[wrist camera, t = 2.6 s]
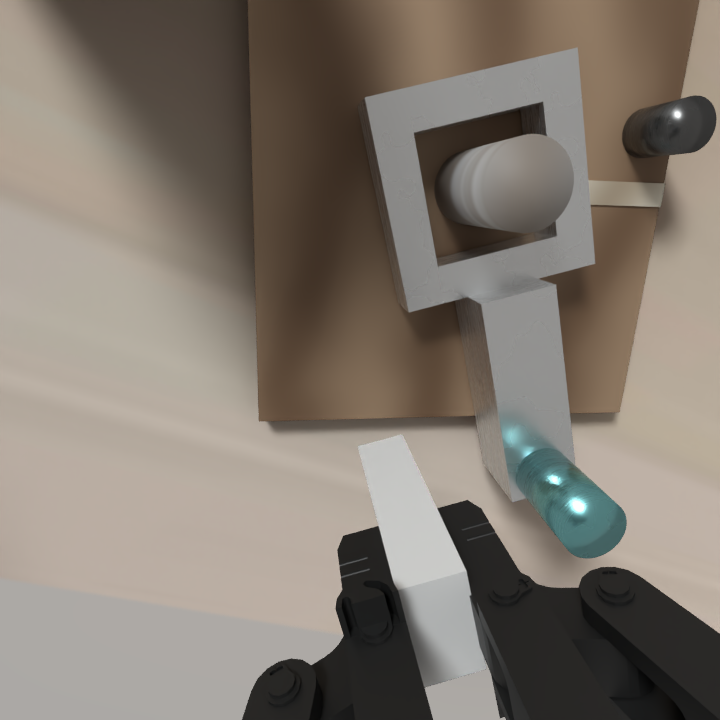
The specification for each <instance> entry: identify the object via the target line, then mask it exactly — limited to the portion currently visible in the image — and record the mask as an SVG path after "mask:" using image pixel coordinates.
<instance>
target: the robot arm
mask: <svg viewBox="0 0 720 720" xmlns="http://www.w3.org/2000/svg"><path fill="white" fill-rule="evenodd" d="M358 449H359V453H360V457H361V461H362V465H363V469H364V472H365V476H366V480H367V484H368V488H369V492H370V495H371V499H372V503H373V507H374V511H375V515H376V518H377V522H378V526H377V527H374V528H370V529H366V530H363V531H359V532H356V533H352V534H348V535H345V536H343V538H342V540H341V543H340V545H339V548H338V558H339V565H340V574H341V582H342V592H341V593H340V595H339V596H338V598H337V602H336V612H337V615H338V618H339V621H340V625H341V628H342V631H343V634H344V637H343V638H342V640H341V642H340V643H339V645H338V646H337V647H336V648H335V649H334V650H333V651H332V652H331V653H330V654H328V655H327V656H326V657H324V658H323V659H321V660H319V661H318V662H316V663H315V664H313V665H310V664H308V663H306V662H305V661H303V660H298V659H288V660H284V661H280V662H278V663H276V664H274V665H273V666H271V667H270V668H268V669H267V670H266V671H265V672H264V673H263V674H262V675H261V676H260V677H259V678H258V679H257V681H256V683H255V685H254V687H253V689H252V691H251V694H250V697H249V700H248V703H247V706H246V710H245V713H244V715H243V719H242V720H433V718H432V714H431V710H430V707H429V703H428V700H427V696H426V692H425V689H424V688H425V687H427V686H431V685H435V684H438V683H441V682H445V681H448V680H452V679H455V678H459V677H462V676H465V675H469V674H472V673H475V672H479V671H482V670H486V665H485V660H486V662H487V665H488V667H489V670H490V672H491V675H492V680H493V685H494V690H495V695H496V700H497V705H498V710H499V715H500V718H502V717H505V718H506V720H720V634H719V633H718V632H717V631H715V630H714V629H712V628H711V627H710V626H708V625H707V624H705V623H704V622H703V621H701V620H700V619H698V618H697V617H696V616H694V615H693V614H692V613H690V612H689V611H687V610H686V609H685V608H683V607H682V606H680V605H679V604H678V603H676V602H675V601H673V600H672V599H671V598H669V597H668V596H666V595H665V594H664V593H662V592H661V591H660V590H658V589H657V588H655V587H654V586H653V585H651V584H650V583H648V582H647V581H646V580H644V579H643V578H641V577H640V576H638V575H636V574H634V573H632V572H630V571H629V570H625V569H621V568H616V567H601V568H598V569H595V570H591V571H589V572H588V573H587V574H586V575H585V576H583V577H582V579H581V582H580V585H579V588H551V587H546V586H542V585H538V584H536V583H535V582H534V581H533V580H532V579H531V578H530V577H529V576H527V575H525V574H522V573H521V572H520V571H519V570H518V568H517V566H516V565H515V563H514V562H513V560H512V558H511V557H510V555H509V553H508V552H507V550H506V548H505V547H504V545H503V544H502V542H501V540H500V539H499V537H498V535H497V534H496V533H495V530H494V529H493V527H492V526H491V524H490V523H489V521H488V519H487V517H486V516H485V514H484V513H483V511H482V509H481V508H479V507H478V506H476V505H474V504H473V503H471V502H470V501H468V500H466V501H462V502H459V503H455V504H452V505H448V506H444V507H441V508H437V507H436V505H435V503H434V501H433V499H432V496H431V494H430V492H429V490H428V488H427V486H426V484H425V482H424V479H423V477H422V475H421V473H420V471H419V469H418V467H417V465H416V462H415V460H414V458H413V456H412V454H411V452H410V450H409V447H408V445H407V443H406V441H405V439H404V437H403V435H402V434H401V435H398V436H394V437H390V438H387V439H383V440H379V441H375V442H372V443H368V444H364V445H361V446H358ZM484 658H485V660H484Z"/></svg>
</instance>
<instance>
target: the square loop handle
mask: <svg viewBox="0 0 720 720" xmlns="http://www.w3.org/2000/svg"><path fill="white" fill-rule="evenodd" d="M357 108H358V113H359V117H360V122H361V127H362V132H363V136H364V141H365V146H366V151H367V155H368V160H369V165H370V170H371V174H372V179H373V184H374V189H375V194H376V198H377V203H378V208H379V213H380V217H381V222H382V227H383V232H384V236H385V241H386V246H387V251H388V255H389V260H390V265H391V270H392V274H393V279H394V284H395V289H396V293H397V298H398V303H399V304H400V305H401V306H402V307H403V308H404V309H406V310H407V311H408V312H413V311H417V310H420V309H424V308H428V307H432V306H436V305H439V304H443V303H447V302H451V301H455V304H456V310H457V315H458V321H459V327H460V333H461V338H462V344H463V350H464V356H465V362H466V367H467V373H468V379H469V385H470V390H471V396H472V402H473V408H474V413H475V419H476V425H477V431H478V436H479V442H480V448H481V454H482V459H483V464H484V465H485V466H486V468H487V469H488V470H489V472H490V473H491V474H492V476H493V477H494V479H495V480H496V481H497V483H498V484H499V485H500V487H501V488H502V489H503V491H504V492H505V493H506V495H507V496H508V497H509V499H510V500H511V501H512V502H516V501H519V500H522V499H526V498H527V500H528V501H529V502H530V503H531V505H532V506H533V507H534V508H535V510H536V511H537V512H538V513H539V515H540V516H541V517H542V518H543V520H544V521H545V522H546V523H547V525H548V526H549V527H550V528H551V530H552V531H553V532H554V533H555V535H556V536H557V537H558V538H559V540H560V541H561V542H562V543H563V545H564V546H565V547H566V548H567V550H568V551H569V552H570V553H572V554H573V555H575V556H577V557H580V558H595V557H598V556H601V555H604V554H606V553H607V552H609V551H610V550H612V549H613V548H614V547H615V546H616V545H617V544H618V543H619V542H620V540H621V539H622V537H623V535H624V533H625V530H626V516H625V513H624V511H623V510H622V508H621V507H620V506H619V505H617V504H616V503H615V502H614V501H613V500H612V499H611V498H610V497H609V496H608V495H607V494H606V493H604V492H603V491H602V490H601V489H600V488H599V487H598V486H597V485H596V484H595V483H594V482H593V481H592V480H590V479H589V478H588V477H587V476H586V475H585V474H584V473H583V472H582V471H581V470H580V469H579V468H577V467H576V466H575V457H574V448H573V438H572V429H571V420H570V410H569V401H568V392H567V382H566V373H565V364H564V355H563V345H562V336H561V327H560V317H559V308H558V299H557V289H556V284H553V283H550V282H546V281H543V280H540V279H539V278H543V277H547V276H550V275H554V274H558V273H562V272H566V271H569V270H573V269H577V268H581V267H585V266H589V265H592V264H595V254H594V242H593V230H592V217H591V205H590V193H589V181H588V168H587V156H586V144H585V131H584V119H583V107H582V94H581V82H580V70H579V57H578V47H577V48H573V49H569V50H564V51H560V52H556V53H552V54H547V55H543V56H539V57H535V58H530V59H526V60H522V61H518V62H513V63H509V64H505V65H500V66H496V67H492V68H488V69H483V70H479V71H475V72H471V73H466V74H462V75H458V76H454V77H449V78H445V79H441V80H437V81H432V82H428V83H424V84H420V85H415V86H411V87H407V88H402V89H398V90H394V91H390V92H385V93H381V94H377V95H373V96H368V97H365V98H364V99H363V100H362V101H361V103H360V104H359V105H358V106H357ZM518 110H520V114H521V122H522V131H523V135H527V134H541V135H545V136H548V137H550V138H552V139H554V140H555V141H557V142H558V143H559V144H560V145H561V146H562V147H563V148H564V149H565V150H566V152H567V154H568V155H569V158H570V160H571V163H572V166H573V171H574V186H573V191H572V195H571V198H570V201H569V203H568V205H567V207H566V208H565V210H564V212H563V213H562V214H561V215H560V217H559V218H558V219H557V220H556V221H554V222H553V223H552V224H551V225H549V226H548V227H546V228H544V229H542V230H539V231H536V232H534V233H533V234H529V235H525V236H521V237H517V238H513V239H509V240H505V241H501V242H497V243H493V244H490V245H486V246H482V247H478V248H474V249H470V250H466V251H462V252H458V253H454V254H451V255H447V256H443V257H439V258H436V254H435V248H434V243H433V237H432V232H431V226H430V221H429V215H428V210H427V204H426V199H425V193H424V188H423V182H422V176H421V171H420V165H419V160H418V154H417V149H416V143H415V138H414V135H419V134H423V133H427V132H431V131H435V130H439V129H443V128H448V127H452V126H456V125H460V124H464V123H468V122H473V121H477V120H481V119H485V118H489V117H493V116H498V115H502V114H506V113H510V112H514V111H518Z"/></svg>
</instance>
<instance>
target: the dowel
mask: <svg viewBox="0 0 720 720" xmlns="http://www.w3.org/2000/svg"><path fill="white" fill-rule="evenodd" d="M715 126H716V112H715V109H714V107H713V105H712V103H711V102H710V101H709V100H708V99H706V98H705V97H702V96H690V97H686V98H682V99H678V100H674V101H670V102H666V103H662V104H658V105H654V106H650V107H646V108H642V109H639V110H637V111H636V112H634V113H633V114H632V115H631V116H630V117H629V118H628V119H627V121H626V123H625V125H624V128H623V132H622V142H623V146H624V148H625V150H626V151H627V153H628V154H630V155H631V156H633V157H635V158H648V157H657V156H666V155H675V154H684V153H692V152H695V151H697V150H699V149H701V148H702V147H703V146H705V145H706V144H707V142H708V141H709V140H710V138H711V137H712V135H713V132H714V130H715Z"/></svg>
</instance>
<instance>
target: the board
mask: <svg viewBox="0 0 720 720" xmlns="http://www.w3.org/2000/svg"><path fill="white" fill-rule="evenodd" d="M698 5H699V0H248V33H249V70H250V108H251V145H252V182H253V220H254V257H255V295H256V332H257V369H258V407H259V421H291V420H330V419H369V418H408V417H447V416H475V413H474V408H473V402H472V396H471V390H470V385H469V379H468V373H467V367H466V362H465V356H464V350H463V344H462V338H461V333H460V327H459V321H458V315H457V310H456V304H455V301H451V302H447V303H443V304H439V305H436V306H432V307H428V308H424V309H420V310H417V311H413V312H408V311H407V310H406V309H404V308H403V307H402V306H401V305H400V304H399V303H398V298H397V293H396V289H395V284H394V279H393V274H392V270H391V265H390V260H389V255H388V251H387V246H386V241H385V236H384V232H383V227H382V222H381V217H380V213H379V208H378V203H377V198H376V194H375V189H374V184H373V179H372V174H371V170H370V165H369V160H368V155H367V151H366V146H365V141H364V136H363V132H362V127H361V122H360V117H359V113H358V108H357V106H358V105H359V104H360V103H361V101H362V100H363V99H364V98H365V97H368V96H373V95H377V94H381V93H385V92H390V91H394V90H398V89H402V88H407V87H411V86H415V85H420V84H424V83H428V82H432V81H437V80H441V79H445V78H449V77H454V76H458V75H462V74H466V73H471V72H475V71H479V70H483V69H488V68H492V67H496V66H500V65H505V64H509V63H513V62H518V61H522V60H526V59H530V58H535V57H539V56H543V55H547V54H552V53H556V52H560V51H564V50H569V49H573V48H577V47H578V57H579V70H580V82H581V94H582V107H583V119H584V131H585V144H586V156H587V168H588V181H589V193H590V205H591V217H592V230H593V242H594V254H595V264H592V265H589V266H585V267H581V268H577V269H573V270H569V271H566V272H562V273H558V274H554V275H550V276H547V277H543V278H539V279H540V280H543V281H546V282H550V283H553V284H556V289H557V299H558V308H559V317H560V327H561V336H562V345H563V355H564V364H565V373H566V382H567V392H568V401H569V410H570V413H604V412H620V407H621V401H622V396H623V391H624V386H625V381H626V376H627V370H628V365H629V360H630V355H631V350H632V345H633V340H634V334H635V329H636V324H637V319H638V314H639V309H640V303H641V298H642V293H643V288H644V283H645V278H646V273H647V267H648V262H649V257H650V252H651V247H652V242H653V236H654V231H655V226H656V221H657V216H658V211H659V207H661V203H662V198H663V193H664V188H665V184H664V180H665V175H666V169H667V164H668V159H669V155H666V156H657V157H648V158H635V157H633V156H631V155H630V154H628V153H627V151H626V150H625V148H624V146H623V142H622V132H623V128H624V125H625V123H626V121H627V119H628V118H629V117H630V116H631V115H632V114H633V113H634V112H636V111H637V110H639V109H642V108H646V107H650V106H654V105H658V104H662V103H666V102H670V101H674V100H678V99H680V97H681V92H682V87H683V82H684V77H685V72H686V66H687V61H688V56H689V51H690V46H691V41H692V36H693V30H694V25H695V20H696V15H697V10H698ZM414 138H415V143H416V149H417V154H418V160H419V165H420V171H421V176H422V182H423V188H424V193H425V199H426V204H427V210H428V215H429V221H430V226H431V232H432V237H433V243H434V248H435V254H436V258H439V257H443V256H447V255H451V254H454V253H458V252H462V251H466V250H470V249H474V248H478V247H482V246H486V245H490V244H493V243H497V242H501V241H505V240H509V239H513V238H517V237H521V236H525V235H529V234H533V233H534V232H536V231H539V230H542V229H544V228H546V227H548V226H549V225H551V224H552V223H553V222H554V221H556V220H557V219H558V218H559V217H560V215H561V214H562V213H563V212H564V210H565V208H566V207H567V205H568V203H569V201H570V198H571V195H572V191H573V186H574V171H573V166H572V163H571V160H570V158H569V155H568V154H567V152H566V150H565V149H564V148H563V147H562V146H561V145H560V144H559V143H558V142H557V141H555V140H554V139H552V138H550V137H548V136H545V135H541V134H527V135H523V131H522V122H521V114H520V110H518V111H514V112H510V113H506V114H502V115H498V116H493V117H489V118H485V119H481V120H477V121H473V122H468V123H464V124H460V125H456V126H452V127H448V128H443V129H439V130H435V131H431V132H427V133H423V134H419V135H414Z"/></svg>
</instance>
